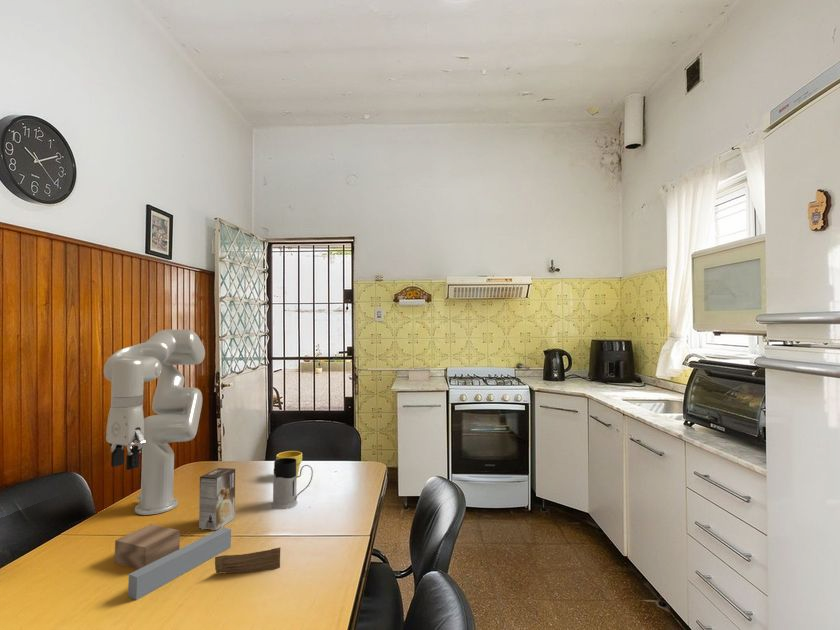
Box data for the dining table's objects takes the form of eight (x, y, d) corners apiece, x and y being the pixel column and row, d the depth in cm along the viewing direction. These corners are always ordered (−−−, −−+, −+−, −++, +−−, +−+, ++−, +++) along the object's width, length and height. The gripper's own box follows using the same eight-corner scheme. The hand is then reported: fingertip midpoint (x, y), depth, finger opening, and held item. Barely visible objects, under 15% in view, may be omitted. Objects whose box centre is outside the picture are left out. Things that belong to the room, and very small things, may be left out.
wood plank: (280, 565, 111) (280, 545, 111) (279, 569, 109) (280, 549, 109) (215, 573, 107) (216, 553, 107) (214, 578, 105) (214, 557, 105)
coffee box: (217, 516, 139) (219, 467, 140) (235, 518, 138) (236, 468, 139) (197, 529, 130) (199, 476, 131) (216, 531, 129) (217, 477, 130)
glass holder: (276, 499, 154) (277, 457, 155) (315, 499, 154) (316, 457, 154) (267, 509, 146) (268, 464, 146) (308, 509, 145) (309, 465, 146)
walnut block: (114, 563, 111) (115, 540, 111) (150, 545, 121) (150, 524, 121) (145, 571, 108) (145, 547, 108) (179, 552, 117) (179, 530, 117)
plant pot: (278, 474, 182) (279, 450, 182) (303, 473, 183) (304, 450, 183) (273, 482, 171) (273, 457, 172) (299, 481, 172) (299, 457, 173)
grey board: (128, 596, 97) (128, 574, 97) (223, 545, 121) (223, 527, 121) (136, 600, 96) (137, 577, 96) (230, 547, 119) (231, 529, 120)
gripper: (94, 402, 121) (92, 466, 120) (132, 406, 113) (130, 475, 113) (122, 398, 127) (120, 459, 127) (160, 402, 120) (158, 467, 119)
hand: (125, 466), depth 120 cm, fingers open, 5 cm apart
